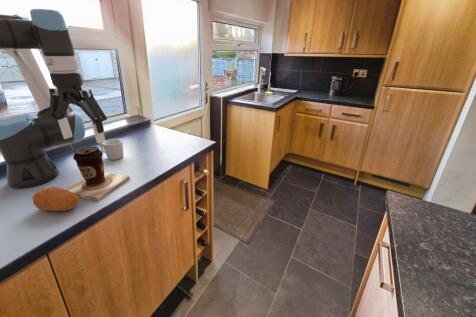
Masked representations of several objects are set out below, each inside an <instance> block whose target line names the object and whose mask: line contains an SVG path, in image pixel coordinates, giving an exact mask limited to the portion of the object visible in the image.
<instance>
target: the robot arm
mask: <svg viewBox="0 0 476 317" xmlns="http://www.w3.org/2000/svg"><path fill="white" fill-rule="evenodd" d="M29 14H30V18H29V17H27V16H23V15H18V14H13V15H12V14H11V15H10V14H0V50H4V52H5V54H7V55H8V56H10V57H12V58H13V60H14V62H15V63H16V65H17V67H18V70H19V72H20V74H21V75H22V78H23V79H24V81H25V83H26V85H27V87H28V90H29V92H30V93H31V96H32V98H33V100H34V102H35V103H36V106H37V108H38V111H37V112H36V116H37V117H35V118H34V117H33V115H31V114H22V115H15V116H11V117H7V118H4V119H1V120H0V153H1V155H2V157H3V160H4V162H5V165H6V181H7V184H8V186H9V187H11V188H13V189H26V188H31V187H32V188H33V187H36V186H41V185H42V184H45V183H47V182H50V181H52V180H53V179H55V178H56V177H57V176H59V173H60V171H59V169H58V166H57V165H56V164H55V163H54V162H53V161H52V160H51V159H50V157H49V156H48V154H47V152H46V149H49V148H55V147H58V146H63V145H67V144H70V143H75V142H78V141H82V140H83V139H84V138H85V136H86V128H85V122H84V119H83V116H82V114H81V113H80V111H76V110H75V111H74V110H73V108H72V106H71V105H73V106H74V105H76V107H79V108H80V109H81V110H82V111H83V112H84V113H85V115H86V116H87V117H88V118H89V119H90V121H92V123H91V126H92V129H93V132H94V133H93V134H94V137H95V142H96V143H97V144H102V143H103V142H104V141H106V137H105V129H104V125H103V122H105V121H107V120H108V117H107V116H106V114H105V112H104V111H103V109H102V108H101V106H100V105H99V103H98V102H97V100H96V99H95V97H94V95H93V94H94V93H93V92H92V90H91V89H83V88H82V85H83V84H84V83H83V79H82V75H81V73H80V72H78V71H79V70H80V67H79V63H78V60H77V57H76V53H75V48H74V45H73V41H72V37H71V34H70V30H69V25H68V22H67V19H66V16H65V14H64V13H63V12H62V11H60V10H55V9H45V8H32V9H31V10H30V11H29ZM41 54H42V55H41ZM42 56H43V57H42ZM43 58H44V59H43ZM44 61H45V62H44Z"/></svg>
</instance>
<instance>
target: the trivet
mask: <svg viewBox="0 0 476 317" xmlns="http://www.w3.org/2000/svg"><path fill="white" fill-rule="evenodd" d="M104 177H105V179H106V182H105V183H104V184H102V185H99V186H94V187H89V186H87V185H86V181H85V179H84V178H82V179H81V180H79V181H77V182H75V183H74V184H72V185H71V186H68V187H67V188H65V190H67V191H70V192H73V193H75V194H77V195H78V196H79V198H82V199H87V200H93V201H97V202H99V201H101V200H102V199H104V198H105V197H107V196H108V195H110V194H111V193H112V192H114V191H115V190H116V189H118V188H119V187H121V186H122V185H123V184H125V183H126V182H128V181H129V180H131V178H130V177H131V176H129V175H124V174H119V173H111V172H107V171H106V172H105V171H104Z"/></svg>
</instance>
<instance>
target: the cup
mask: <svg viewBox="0 0 476 317" xmlns="http://www.w3.org/2000/svg"><path fill="white" fill-rule="evenodd" d="M99 144H100V145H99V147H100V148H99V149H100V150H101V151H102V152H103V154H104V153H105V155H106V157H107V159H108V160H110V161H117V160H120V159H122V158H123V157H124V145H123V139H121V138H110V139H107V140H106V139H105V141H103V142H101V143H99Z"/></svg>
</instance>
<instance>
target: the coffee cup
mask: <svg viewBox="0 0 476 317" xmlns="http://www.w3.org/2000/svg"><path fill="white" fill-rule="evenodd" d="M103 154H104V152H103V151H102V150H101V149H100V148H99V147H98V146H88V147H81V148H78V149H76V150H75V151H74V155H73V157H72V159H73V160H74V161H75V162H76V166H77V168H78V170H79V172H80V175H81V177H82V179H85V181H86V185H87V186H89V187H94V186H99V185H102V184H104V183H105V182H106V179H105V177H104V172H105V164H104V162H103Z"/></svg>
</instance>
